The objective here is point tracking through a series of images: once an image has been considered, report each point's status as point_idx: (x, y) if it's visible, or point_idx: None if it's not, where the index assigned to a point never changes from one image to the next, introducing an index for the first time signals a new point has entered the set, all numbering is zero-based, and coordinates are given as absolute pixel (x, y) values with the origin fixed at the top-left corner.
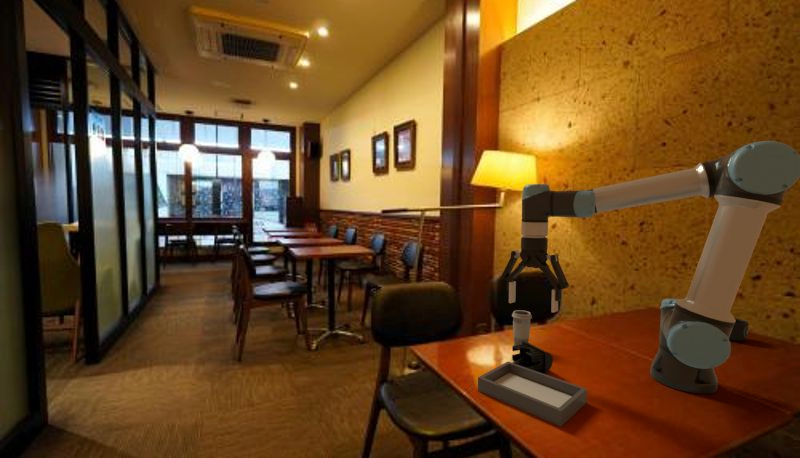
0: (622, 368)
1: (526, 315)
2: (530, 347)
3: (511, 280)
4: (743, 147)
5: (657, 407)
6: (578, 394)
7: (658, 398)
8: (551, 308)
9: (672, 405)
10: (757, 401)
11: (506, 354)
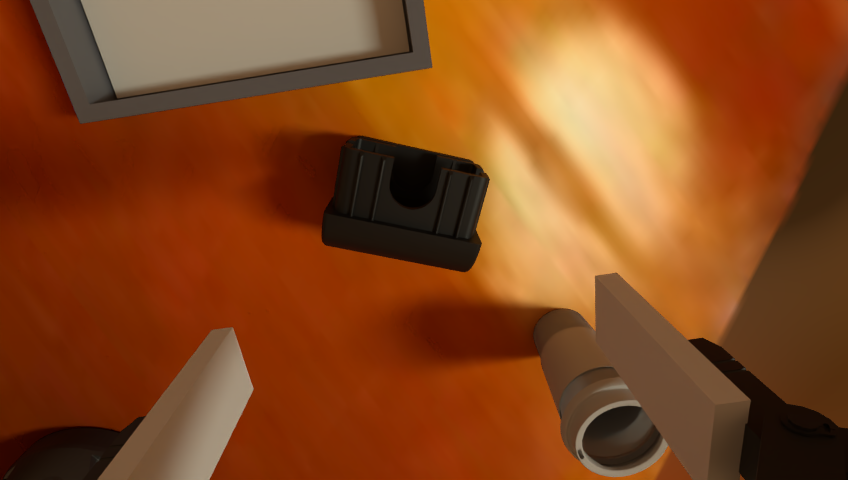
0: (240, 440)
1: (580, 424)
2: (419, 226)
3: (755, 460)
4: None
5: (12, 283)
6: (54, 44)
7: (52, 338)
8: (220, 345)
9: (6, 329)
10: None
11: (550, 221)
